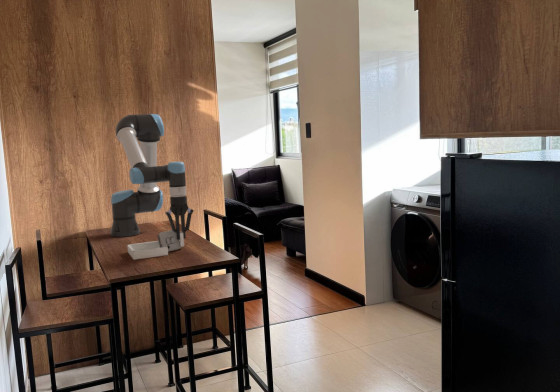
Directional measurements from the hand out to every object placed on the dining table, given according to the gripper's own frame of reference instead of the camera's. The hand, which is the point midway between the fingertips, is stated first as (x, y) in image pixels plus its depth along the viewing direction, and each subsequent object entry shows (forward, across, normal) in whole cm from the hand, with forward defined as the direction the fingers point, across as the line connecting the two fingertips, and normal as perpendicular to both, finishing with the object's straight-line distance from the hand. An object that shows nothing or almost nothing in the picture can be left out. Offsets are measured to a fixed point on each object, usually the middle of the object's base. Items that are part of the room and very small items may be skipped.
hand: (181, 245), depth 247 cm
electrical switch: (+2, -6, +1) cm, 6 cm away
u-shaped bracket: (+1, -16, 0) cm, 16 cm away
